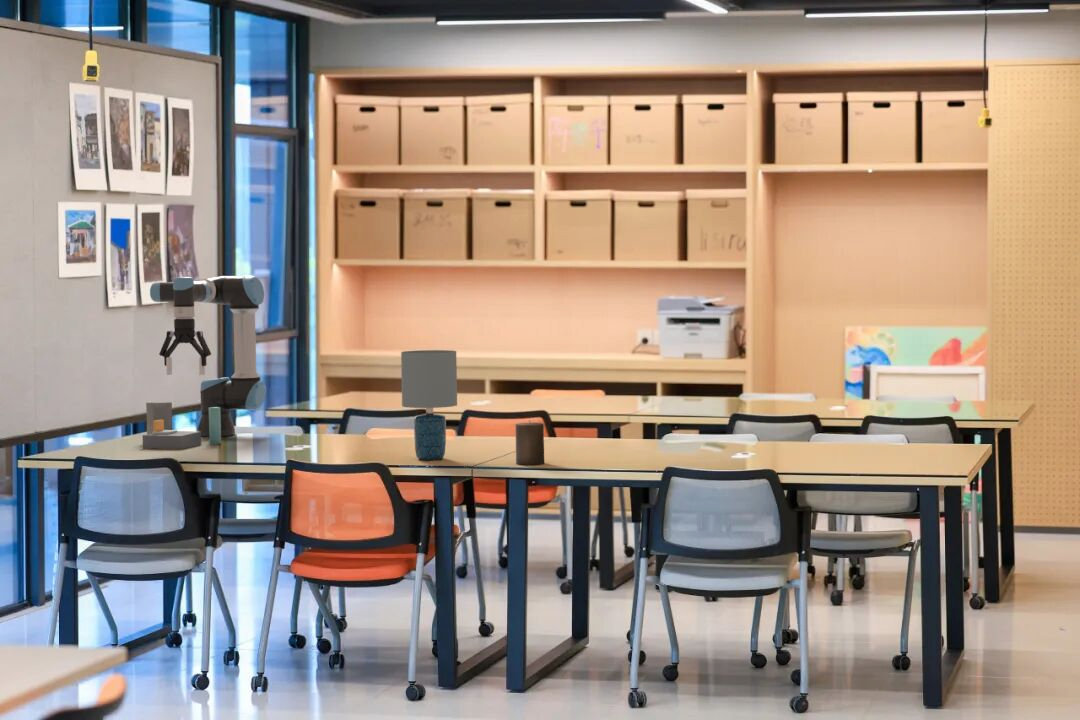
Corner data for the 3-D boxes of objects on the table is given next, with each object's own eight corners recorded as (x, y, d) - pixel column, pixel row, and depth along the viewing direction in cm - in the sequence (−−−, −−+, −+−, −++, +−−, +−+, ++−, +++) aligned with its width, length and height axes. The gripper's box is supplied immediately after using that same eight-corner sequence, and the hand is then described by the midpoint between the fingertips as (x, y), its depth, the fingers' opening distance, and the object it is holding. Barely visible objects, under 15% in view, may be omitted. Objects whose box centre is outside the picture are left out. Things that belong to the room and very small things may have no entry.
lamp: (413, 463, 543) (411, 353, 541) (395, 457, 561) (393, 351, 559) (465, 460, 551) (464, 351, 549) (446, 454, 568) (445, 349, 566)
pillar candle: (548, 464, 537) (548, 420, 536) (521, 465, 533) (520, 421, 533) (538, 461, 546) (537, 418, 545) (511, 463, 542) (511, 419, 542)
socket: (163, 443, 616) (163, 431, 616) (201, 444, 612) (200, 431, 611) (142, 448, 601) (142, 435, 600) (180, 449, 596) (180, 436, 596)
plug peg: (212, 442, 617) (212, 407, 616) (223, 443, 616) (222, 407, 615) (207, 444, 613) (206, 408, 612) (217, 444, 612) (217, 408, 611)
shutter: (161, 431, 611) (161, 419, 611) (177, 432, 609) (176, 419, 609) (152, 433, 604) (152, 421, 604) (167, 434, 602) (167, 421, 602)
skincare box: (154, 443, 618) (153, 403, 617) (145, 442, 623) (144, 402, 622) (174, 441, 623) (173, 401, 622) (165, 440, 628) (164, 400, 628)
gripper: (149, 318, 593) (150, 375, 595) (209, 318, 587) (211, 375, 588) (159, 317, 601) (160, 373, 602) (219, 317, 594) (220, 374, 595)
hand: (185, 374), depth 595 cm, fingers open, 13 cm apart
